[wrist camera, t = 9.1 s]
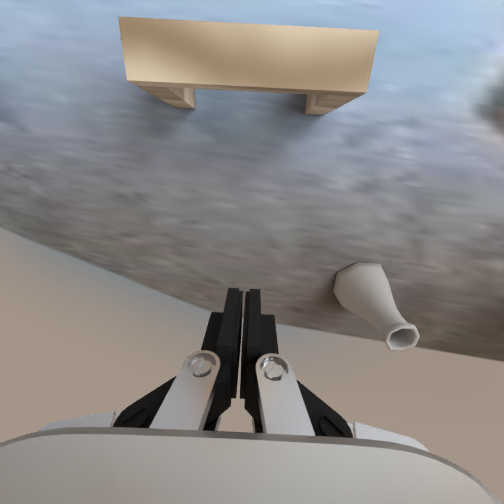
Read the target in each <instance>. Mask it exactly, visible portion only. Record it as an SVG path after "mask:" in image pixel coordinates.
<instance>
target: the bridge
mask: <svg viewBox="0 0 504 504" xmlns="http://www.w3.org/2000/svg"><path fill="white" fill-rule="evenodd" d="M118 19H119V26H120V33H121V41H122V48H123V55H124V62H125V69H126V77H127V81H129V82H131V83H133V84H134V85H136V86H138V87H140V88H141V89H143V90H145V91H147V92H148V93H150V94H152V95H154V96H156V97H157V98H159V99H161V100H163V101H164V102H166V103H168V104H170V105H171V106H173V107H175V108H188V109H195V88H197V89H217V90H237V91H257V92H276V93H296V94H307V96H306V104H305V113H304V114H309V115H325V114H327V113H329V112H331V111H333V110H335V109H337V108H339V107H340V106H342V105H344V104H346V103H348V102H350V101H352V100H354V99H355V98H357V97H359V96H361V95H363V94H365V93H367V89H368V84H369V79H370V74H371V69H372V64H373V59H374V54H375V49H376V44H377V39H378V34H379V31H376V30H358V29H339V28H320V27H301V26H283V25H264V24H245V23H226V22H208V21H189V20H170V19H151V18H133V17H118Z"/></svg>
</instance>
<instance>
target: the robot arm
mask: <svg viewBox="0 0 504 504" xmlns="http://www.w3.org/2000/svg"><path fill="white" fill-rule="evenodd" d="M242 297H243V291H239V288H228V293H227V298H226V303H225V307H224V312H223V313H219V312H212V313H211V316H210V319H209V323H208V326H207V330H206V334H205V337H204V341H203V344H202V348H201V351H197V352H195V353H192V354H191V355H190V356H188V357H187V359H186V360H185V361H184V363H183V365H182V367H181V369H180V371H179V373H178V374H177V376H175V377H174V378H172V379H171V380H169V381H168V382H166V383H164V384H163V385H161V386H160V387H158V388H156V389H155V390H153V391H152V392H150V393H149V394H147V395H145V396H144V397H142V398H141V399H139V400H138V401H136V402H134V403H133V404H132V405H130V406H128V407H127V408H126V409H125V410H123V411H122V412H121V413H117V414H116V413H115V411H110V412H105V413H100V414H94V415H88V416H83V417H77V418H72V419H66V420H61V421H57V422H53V423H50V424H48V425H46V426H45V427H43V428H41V429H40V430H39V431H37V432H35V433H31V434H26V435H23V436H20V437H17V438H14V439H11V440H8V441H5V442H3V443H0V504H503V503H502V502H501V501H500V500H499V499H498V497H496V496H495V494H494V493H493V492H492V491H491V490H490V489H489V488H488V487H487V486H486V485H484V484H483V483H482V482H481V481H480V480H479V479H477V478H476V477H475V476H473V475H472V474H471V473H469V472H468V471H466V470H464V469H462V468H461V467H459V466H457V465H456V464H453V463H452V462H450V461H448V460H446V459H444V458H442V457H439V456H437V455H434V454H432V453H430V452H429V451H428V450H427V448H426V447H425V446H423V445H422V444H421V443H420V442H418V441H417V440H415V439H412V438H410V437H407V436H403V435H400V434H397V433H393V432H389V431H386V430H382V429H379V428H375V427H372V426H368V425H365V424H361V423H358V422H354V424H349V423H347V422H346V421H345V420H344V419H343V418H342V417H341V416H340V415H339V414H338V413H337V412H335V411H334V410H333V409H332V408H331V407H329V406H328V405H327V404H326V403H324V402H323V401H322V400H321V399H320V398H318V397H317V396H316V395H315V394H313V393H312V392H311V391H310V390H308V389H307V388H306V387H305V386H304V385H302V384H301V383H300V382H299V381H297V380H296V378H295V374H294V372H293V369H292V366H291V364H290V362H289V361H288V360H287V359H286V358H285V357H283V356H281V355H279V353H278V344H277V335H276V326H275V317H274V315H262V314H261V301H260V289H250V292H246V296H245V310H244V323H243V337H242V356H241V384H240V399H241V398H243V399H245V409H246V410H247V411H248V412H249V414H250V415H251V416H252V425H253V433H246V432H224V431H218V427H219V424H220V419H221V414H222V413H223V412H224V411H225V410H227V409H228V408H229V407H230V406H231V398H236V392H237V380H238V367H239V356H240V344H241V327H242Z"/></svg>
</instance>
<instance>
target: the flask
mask: <svg viewBox="0 0 504 504" xmlns="http://www.w3.org/2000/svg"><path fill="white" fill-rule="evenodd" d="M333 293H334V294H335V296H336V298H337V299H338V301H339V303H340V304H341V306H342V307H344V308H345V309H347V310H349V311H351V312H352V313H354V314H356V315H358V316H359V317H361V318H362V319H364V320H365V321H367V322H369V323H370V324H372V325H373V326H374V327H375V328H376V329H377V330H378V331H379V332H380V333H381V334H382V335H383V337H384V338H383V339H384V342H385V343H386V345H387V347H388V349H389V350H391V351H404V350H407V349H409V348H412V347H414V346H416V343H417V341H418V339H419V337H420V335H419V333H418V331H417V329H416V327H415V326H414V325H413V324H408V323H407V322H406V321H405V319H404V318H403V317H402V316H401V315H400V313H399V311H398V310H397V308H396V305H395V302H394V299H393V296H392V293H391V289H390V285H389V282H388V279H387V277H386V275H385V273H384V271H383V269H382V267H381V265H380V264H378V263H363V262H357V263H355V264H353V265H351V266H350V267H348V268H346V269H344V270H342V271H340V272H338V273H337V276H336V280H335V285H334V289H333Z"/></svg>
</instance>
